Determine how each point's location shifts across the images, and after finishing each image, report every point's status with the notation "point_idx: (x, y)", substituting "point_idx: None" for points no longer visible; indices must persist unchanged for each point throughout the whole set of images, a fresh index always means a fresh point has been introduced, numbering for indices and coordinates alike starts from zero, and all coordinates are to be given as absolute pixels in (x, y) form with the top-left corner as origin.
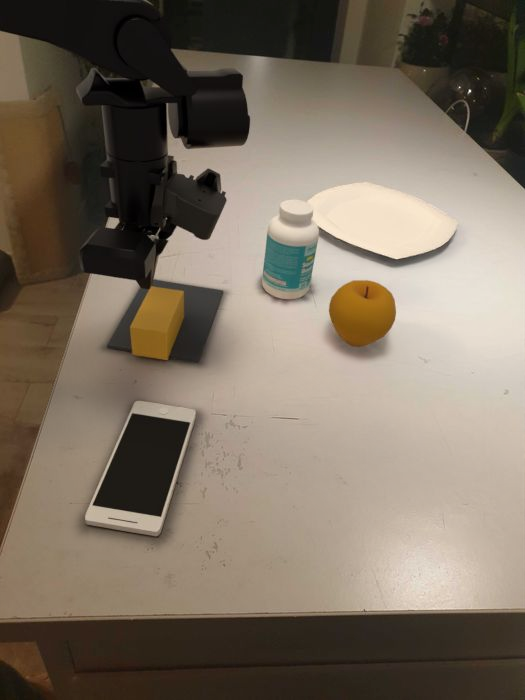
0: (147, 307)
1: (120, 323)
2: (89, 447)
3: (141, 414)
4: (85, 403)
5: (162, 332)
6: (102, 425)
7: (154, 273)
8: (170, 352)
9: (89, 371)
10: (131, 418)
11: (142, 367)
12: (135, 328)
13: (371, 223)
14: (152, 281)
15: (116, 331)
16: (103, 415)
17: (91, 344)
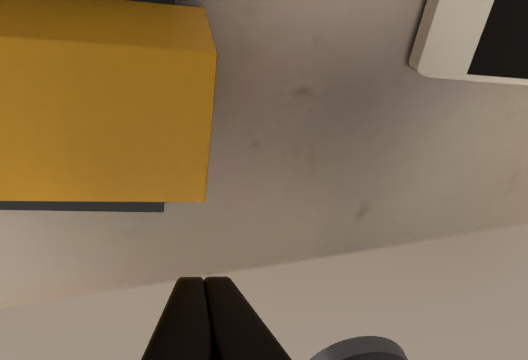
0: (43, 173)
1: (38, 207)
2: (521, 141)
3: (475, 46)
4: (383, 190)
5: (215, 70)
6: (461, 133)
7: (167, 343)
8: (155, 2)
9: (268, 216)
10: (486, 71)
11: (235, 86)
12: (206, 181)
13: None
14: (191, 300)
15: (86, 206)
16: (428, 140)
17: (155, 245)
